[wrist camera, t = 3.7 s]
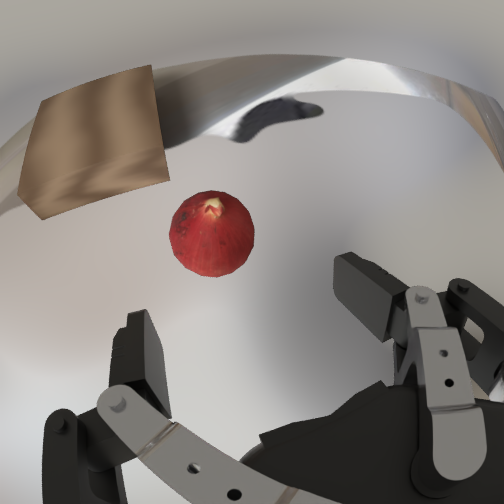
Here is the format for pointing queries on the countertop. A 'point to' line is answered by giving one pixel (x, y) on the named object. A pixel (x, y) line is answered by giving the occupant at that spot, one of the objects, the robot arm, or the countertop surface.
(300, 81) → the countertop surface
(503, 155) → the countertop surface
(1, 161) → the countertop surface
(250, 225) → the onion
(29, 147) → the walnut base
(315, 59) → the countertop surface
